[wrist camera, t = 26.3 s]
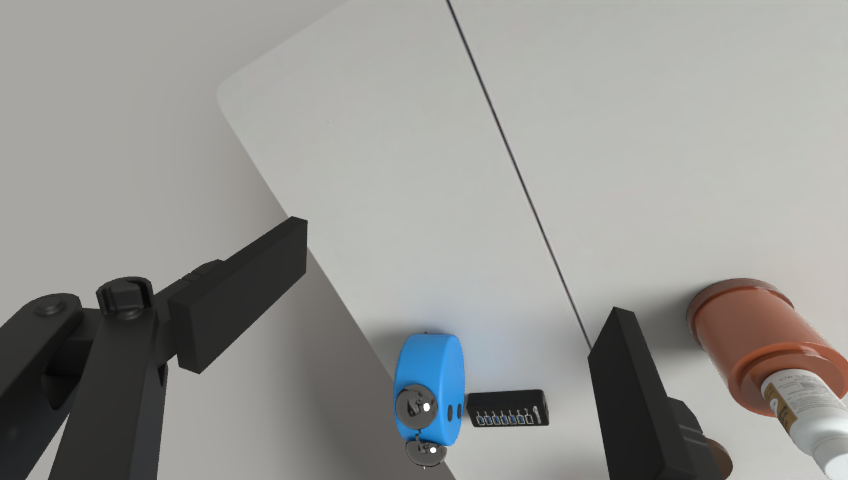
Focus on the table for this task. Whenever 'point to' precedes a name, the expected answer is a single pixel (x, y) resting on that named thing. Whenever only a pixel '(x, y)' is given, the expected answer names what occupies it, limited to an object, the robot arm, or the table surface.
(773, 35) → the table surface
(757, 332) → the brown cylindrical container
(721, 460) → the candlestick
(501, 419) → the multiport hub
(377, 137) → the table surface
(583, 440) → the table surface
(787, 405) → the pill bottle
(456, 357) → the alarm clock
